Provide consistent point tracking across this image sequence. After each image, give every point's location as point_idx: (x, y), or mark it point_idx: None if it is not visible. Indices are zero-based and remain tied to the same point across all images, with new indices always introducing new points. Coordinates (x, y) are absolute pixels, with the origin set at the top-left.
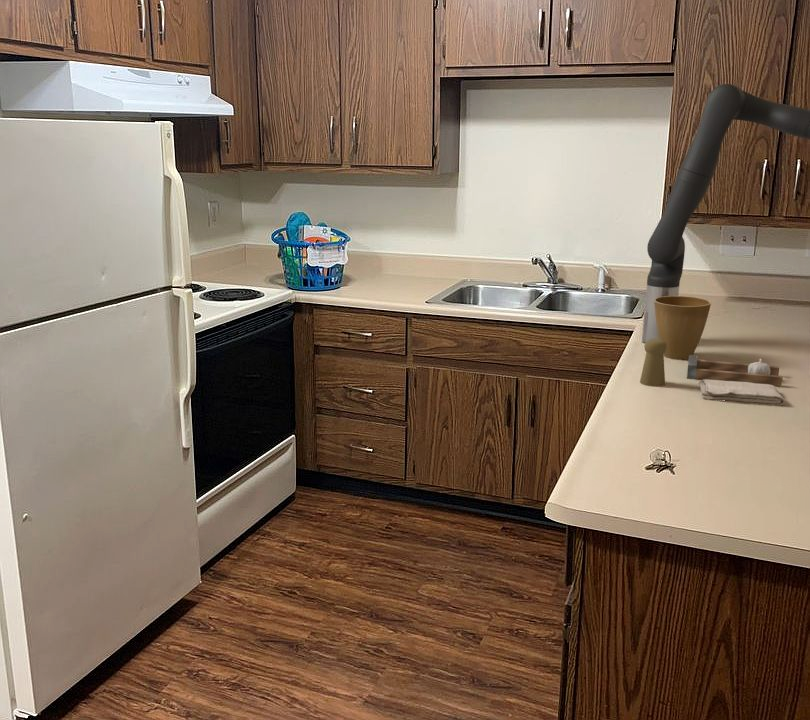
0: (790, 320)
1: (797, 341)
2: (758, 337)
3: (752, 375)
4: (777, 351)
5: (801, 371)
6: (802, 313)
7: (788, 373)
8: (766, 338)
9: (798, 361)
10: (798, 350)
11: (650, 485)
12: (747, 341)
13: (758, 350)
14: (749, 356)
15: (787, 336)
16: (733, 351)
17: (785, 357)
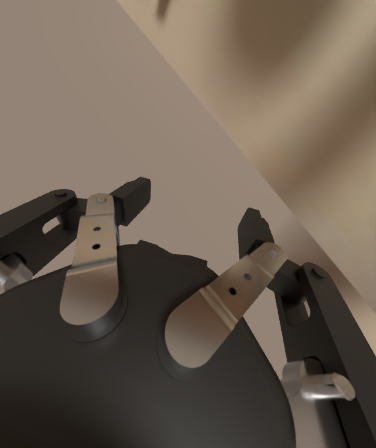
0: (361, 271)
1: (294, 203)
2: (351, 175)
3: None
4: (278, 135)
5: (183, 76)
6: (365, 298)
7: (178, 37)
8: (337, 181)
9: (225, 120)
10: (264, 169)
11: None
12: (353, 136)
13: (302, 106)
14: (287, 47)
15: (319, 213)
16: (335, 37)
17: (248, 118)
